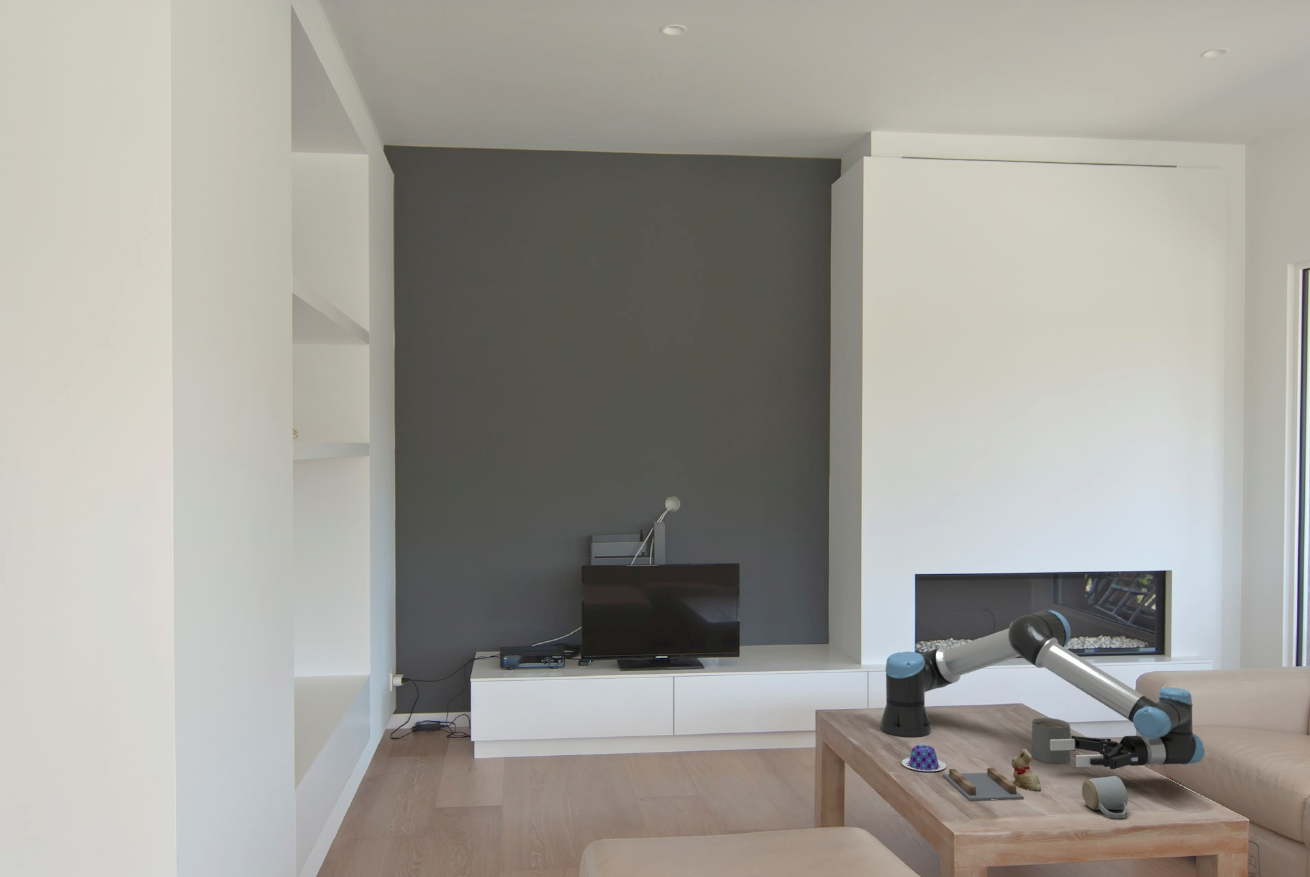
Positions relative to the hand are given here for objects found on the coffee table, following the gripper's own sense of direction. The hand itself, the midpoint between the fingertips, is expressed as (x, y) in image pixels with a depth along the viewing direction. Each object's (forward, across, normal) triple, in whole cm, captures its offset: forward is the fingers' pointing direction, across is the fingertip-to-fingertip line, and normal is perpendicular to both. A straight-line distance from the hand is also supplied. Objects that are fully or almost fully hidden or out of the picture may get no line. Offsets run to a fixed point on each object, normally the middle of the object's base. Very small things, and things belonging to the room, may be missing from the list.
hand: (1063, 752), depth 248 cm
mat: (+22, 0, -8) cm, 23 cm away
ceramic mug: (-2, -18, -9) cm, 20 cm away
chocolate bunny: (+10, 0, -9) cm, 13 cm away
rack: (+22, 0, -8) cm, 23 cm away
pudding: (+31, +18, -9) cm, 37 cm away
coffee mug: (-9, +22, -8) cm, 26 cm away
